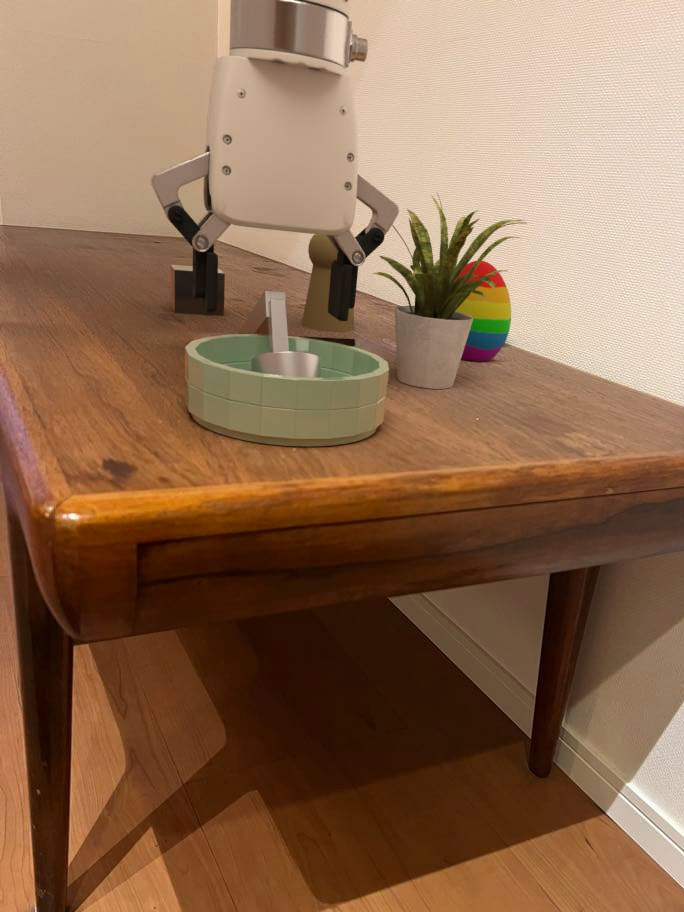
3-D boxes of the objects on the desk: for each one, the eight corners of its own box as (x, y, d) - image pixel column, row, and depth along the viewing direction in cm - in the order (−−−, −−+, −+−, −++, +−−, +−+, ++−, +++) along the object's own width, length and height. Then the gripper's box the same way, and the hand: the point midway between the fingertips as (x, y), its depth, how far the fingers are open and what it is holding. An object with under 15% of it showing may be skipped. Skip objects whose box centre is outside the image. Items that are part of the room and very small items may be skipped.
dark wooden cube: (174, 329, 81) (174, 269, 78) (170, 321, 84) (170, 264, 82) (223, 331, 82) (224, 273, 80) (217, 324, 86) (218, 268, 83)
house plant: (540, 391, 74) (575, 205, 67) (471, 414, 63) (505, 195, 57) (415, 360, 81) (436, 188, 74) (332, 376, 70) (348, 176, 63)
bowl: (200, 448, 48) (201, 376, 46) (175, 389, 60) (175, 329, 58) (410, 447, 53) (418, 382, 51) (349, 393, 65) (354, 338, 63)
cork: (317, 348, 80) (324, 234, 75) (288, 336, 84) (294, 227, 80) (365, 347, 84) (376, 238, 79) (336, 335, 88) (344, 231, 83)
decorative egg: (518, 361, 87) (535, 267, 82) (473, 367, 81) (488, 266, 77) (462, 345, 91) (475, 256, 87) (415, 349, 86) (427, 254, 82)
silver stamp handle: (219, 427, 70) (214, 338, 70) (274, 427, 72) (269, 341, 72) (259, 385, 53) (253, 267, 53) (330, 386, 55) (324, 272, 55)
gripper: (393, 72, 57) (369, 312, 64) (144, 24, 50) (148, 297, 57) (432, 64, 51) (401, 330, 58) (154, 8, 44) (157, 316, 51)
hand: (274, 313), depth 58 cm, fingers open, 9 cm apart
